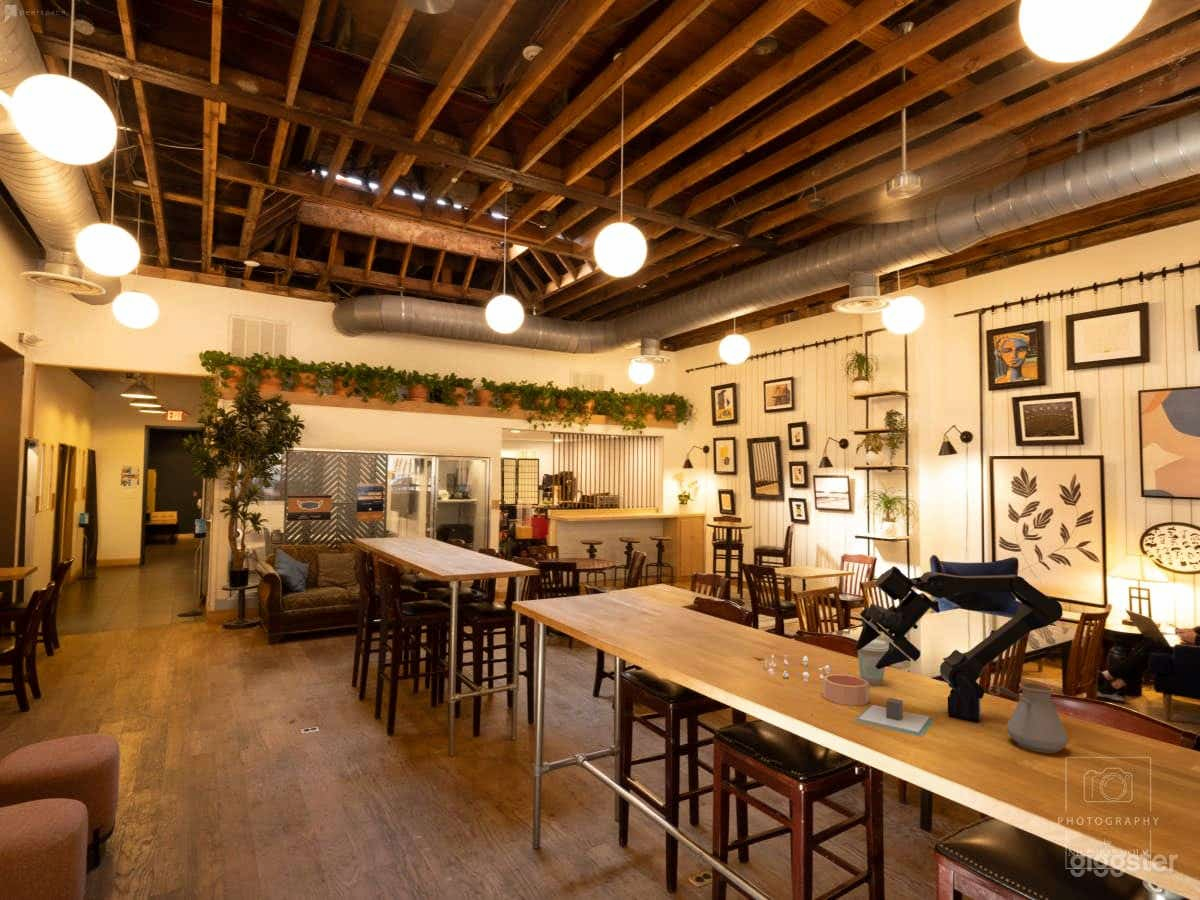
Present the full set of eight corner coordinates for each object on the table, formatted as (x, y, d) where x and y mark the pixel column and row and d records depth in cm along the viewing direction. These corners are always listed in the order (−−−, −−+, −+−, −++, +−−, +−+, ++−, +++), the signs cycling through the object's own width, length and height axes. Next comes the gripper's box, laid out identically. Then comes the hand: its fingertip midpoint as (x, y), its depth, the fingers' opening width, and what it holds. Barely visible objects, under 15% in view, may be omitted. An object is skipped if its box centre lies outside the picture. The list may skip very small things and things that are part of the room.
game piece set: (788, 661, 211) (788, 649, 211) (843, 676, 195) (843, 663, 195) (749, 669, 199) (749, 657, 199) (805, 686, 183) (805, 673, 184)
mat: (934, 721, 157) (934, 719, 157) (922, 739, 145) (922, 737, 145) (870, 707, 166) (870, 705, 166) (853, 723, 154) (853, 721, 154)
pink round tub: (873, 699, 172) (873, 679, 172) (861, 710, 163) (861, 689, 163) (831, 691, 179) (831, 672, 179) (818, 700, 170) (818, 680, 170)
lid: (929, 719, 157) (929, 699, 157) (918, 734, 146) (918, 713, 146) (873, 707, 164) (873, 688, 165) (858, 721, 154) (858, 701, 154)
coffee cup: (854, 684, 186) (854, 641, 187) (857, 676, 194) (857, 636, 194) (886, 689, 182) (886, 645, 183) (888, 681, 190) (888, 639, 190)
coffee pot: (1025, 733, 150) (1024, 667, 151) (1080, 752, 140) (1079, 681, 141) (967, 747, 141) (966, 677, 142) (1021, 768, 130) (1021, 693, 131)
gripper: (867, 579, 170) (827, 623, 171) (911, 611, 152) (866, 660, 153) (894, 603, 173) (854, 646, 174) (940, 637, 155) (895, 685, 156)
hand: (866, 658), depth 164 cm, fingers open, 9 cm apart
